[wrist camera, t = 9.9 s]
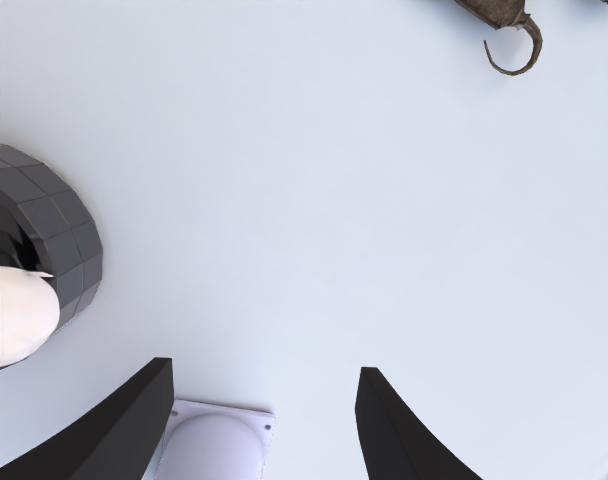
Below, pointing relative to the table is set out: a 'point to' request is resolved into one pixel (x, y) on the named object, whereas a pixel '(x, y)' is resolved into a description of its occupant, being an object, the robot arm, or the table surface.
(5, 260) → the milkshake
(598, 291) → the table surface
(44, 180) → the bowl
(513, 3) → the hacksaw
